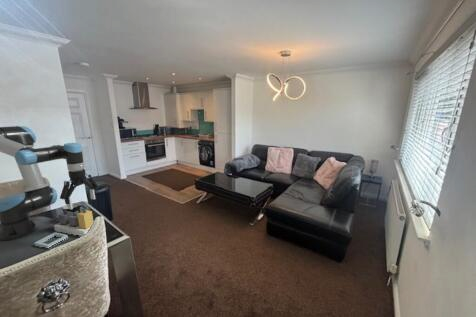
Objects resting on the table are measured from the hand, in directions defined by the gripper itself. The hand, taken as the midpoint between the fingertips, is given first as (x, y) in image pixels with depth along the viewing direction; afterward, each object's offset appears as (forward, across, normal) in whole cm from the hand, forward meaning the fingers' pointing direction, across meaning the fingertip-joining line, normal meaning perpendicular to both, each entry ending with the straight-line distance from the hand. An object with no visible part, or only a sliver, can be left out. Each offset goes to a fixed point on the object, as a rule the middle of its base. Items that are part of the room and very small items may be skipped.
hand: (82, 203), depth 117 cm
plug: (+18, 0, -1) cm, 18 cm away
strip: (+19, 0, +7) cm, 20 cm away
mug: (+19, +10, +22) cm, 31 cm away
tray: (+19, -13, +9) cm, 25 cm away
